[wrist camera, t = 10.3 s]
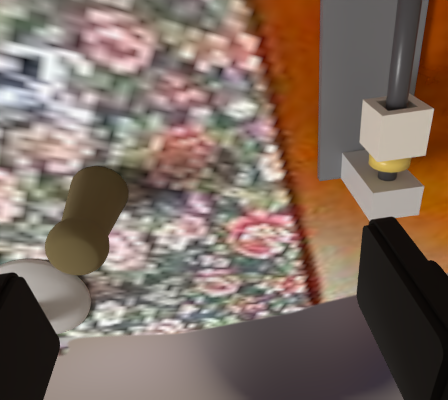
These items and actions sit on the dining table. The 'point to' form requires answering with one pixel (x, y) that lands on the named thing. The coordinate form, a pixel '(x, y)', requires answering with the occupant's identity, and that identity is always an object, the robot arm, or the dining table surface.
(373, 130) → the sleeve
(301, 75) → the dining table surface
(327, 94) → the grey rod stand
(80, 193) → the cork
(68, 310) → the candlestick
